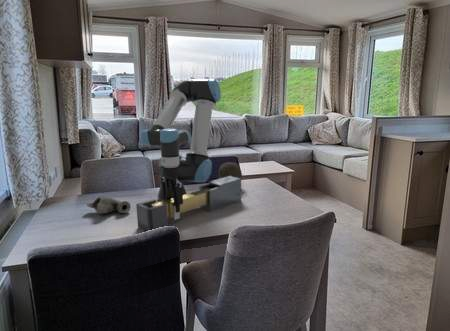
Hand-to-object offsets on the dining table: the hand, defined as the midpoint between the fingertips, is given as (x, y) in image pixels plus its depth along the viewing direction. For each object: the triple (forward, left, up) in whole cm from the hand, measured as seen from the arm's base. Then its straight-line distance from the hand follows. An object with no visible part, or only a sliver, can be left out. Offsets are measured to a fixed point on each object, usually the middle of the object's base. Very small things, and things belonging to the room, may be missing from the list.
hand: (173, 216), depth 143 cm
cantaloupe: (-15, +51, -2) cm, 53 cm away
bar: (0, +7, +2) cm, 7 cm away
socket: (0, -10, -2) cm, 11 cm away
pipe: (-29, -16, -2) cm, 33 cm away
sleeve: (0, +29, -2) cm, 29 cm away
